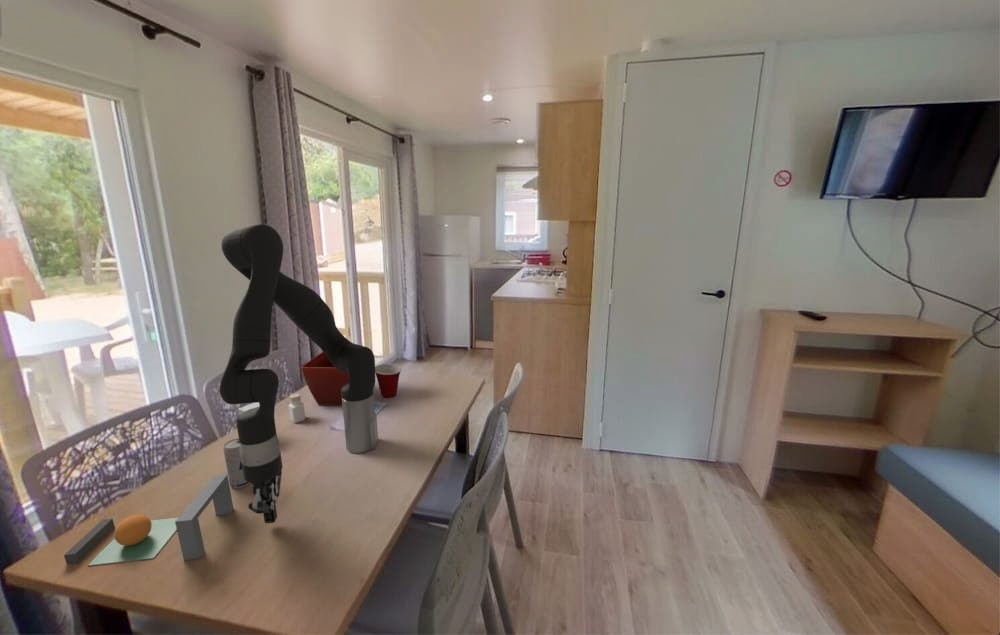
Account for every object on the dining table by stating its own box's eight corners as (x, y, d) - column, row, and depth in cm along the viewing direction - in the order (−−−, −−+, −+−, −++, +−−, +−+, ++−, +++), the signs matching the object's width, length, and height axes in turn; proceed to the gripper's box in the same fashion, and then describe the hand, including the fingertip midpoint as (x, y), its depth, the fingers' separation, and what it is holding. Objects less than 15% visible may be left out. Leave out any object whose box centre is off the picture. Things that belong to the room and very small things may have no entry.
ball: (121, 517, 89) (138, 537, 91) (100, 536, 83) (118, 557, 85) (147, 504, 90) (163, 524, 91) (128, 522, 84) (146, 543, 86)
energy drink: (258, 478, 109) (251, 439, 106) (240, 491, 105) (233, 450, 102) (243, 474, 111) (237, 436, 108) (225, 486, 106) (217, 446, 103)
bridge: (233, 508, 98) (227, 474, 96) (199, 558, 84) (191, 519, 81) (220, 510, 98) (213, 475, 95) (183, 560, 83) (175, 521, 81)
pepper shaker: (306, 420, 141) (303, 395, 139) (294, 424, 138) (291, 399, 136) (301, 416, 144) (298, 392, 141) (289, 420, 141) (286, 395, 138)
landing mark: (187, 517, 95) (187, 516, 95) (153, 558, 84) (153, 557, 84) (130, 523, 93) (130, 522, 93) (88, 566, 82) (87, 565, 82)
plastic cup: (399, 401, 156) (398, 373, 153) (372, 401, 156) (370, 372, 153) (406, 390, 166) (404, 363, 163) (380, 389, 166) (378, 362, 164)
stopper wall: (114, 527, 92) (112, 518, 91) (78, 563, 82) (75, 553, 82) (105, 528, 92) (102, 519, 91) (66, 565, 82) (63, 555, 81)
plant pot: (327, 388, 168) (323, 350, 163) (372, 389, 167) (369, 351, 163) (304, 409, 149) (299, 367, 145) (355, 410, 149) (351, 368, 144)
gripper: (267, 471, 83) (278, 540, 87) (289, 437, 95) (297, 499, 99) (227, 474, 81) (240, 545, 86) (255, 440, 94) (265, 502, 98)
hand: (271, 520), depth 93 cm, fingers closed
